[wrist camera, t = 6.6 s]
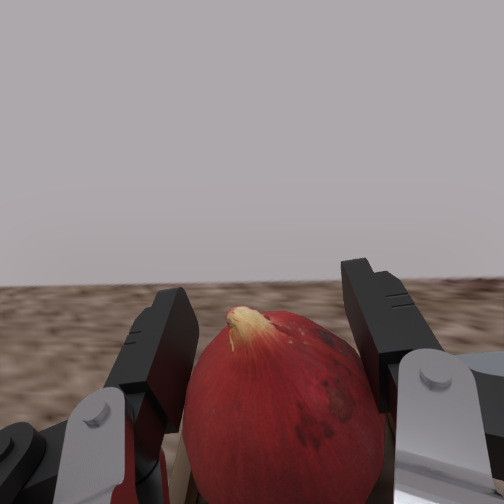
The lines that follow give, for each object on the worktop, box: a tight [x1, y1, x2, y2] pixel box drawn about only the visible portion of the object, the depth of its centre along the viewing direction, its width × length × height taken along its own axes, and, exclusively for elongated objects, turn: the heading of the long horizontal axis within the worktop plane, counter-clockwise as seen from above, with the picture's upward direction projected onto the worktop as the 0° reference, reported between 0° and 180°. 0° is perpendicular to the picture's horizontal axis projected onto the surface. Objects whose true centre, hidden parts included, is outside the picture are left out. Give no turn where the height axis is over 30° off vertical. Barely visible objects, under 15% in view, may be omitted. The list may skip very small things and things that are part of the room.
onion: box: [182, 306, 385, 504], centre depth 9 cm, size 6×6×8 cm
